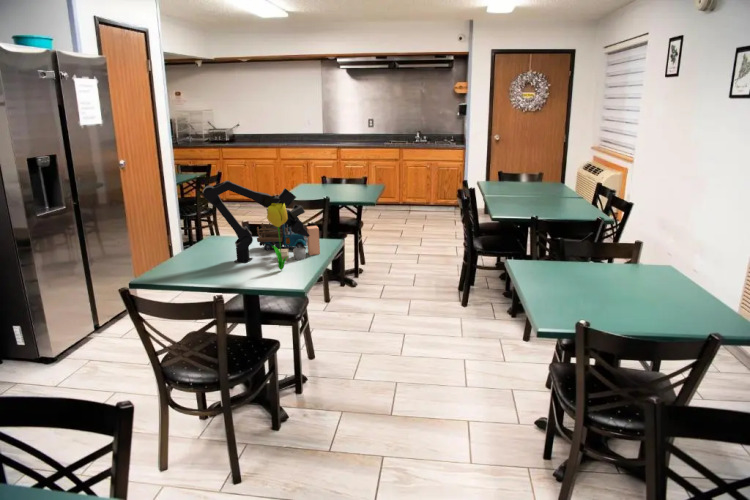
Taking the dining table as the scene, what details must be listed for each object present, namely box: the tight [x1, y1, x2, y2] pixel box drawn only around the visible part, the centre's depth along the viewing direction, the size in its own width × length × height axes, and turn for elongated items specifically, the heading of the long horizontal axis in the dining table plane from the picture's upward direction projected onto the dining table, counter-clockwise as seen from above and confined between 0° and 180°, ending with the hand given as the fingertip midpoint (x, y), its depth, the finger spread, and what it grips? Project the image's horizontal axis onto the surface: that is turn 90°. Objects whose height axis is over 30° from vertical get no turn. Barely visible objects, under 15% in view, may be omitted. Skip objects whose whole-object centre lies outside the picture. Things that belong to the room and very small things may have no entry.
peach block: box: [306, 225, 321, 256], centre depth 257 cm, size 5×5×13 cm
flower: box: [266, 202, 288, 272], centre depth 229 cm, size 9×8×30 cm
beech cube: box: [278, 248, 290, 262], centre depth 249 cm, size 4×4×4 cm
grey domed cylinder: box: [292, 247, 307, 261], centre depth 251 cm, size 6×6×4 cm
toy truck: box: [256, 222, 308, 251], centre depth 267 cm, size 11×25×15 cm, turn 87°
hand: (307, 233), depth 255 cm, fingers open, 9 cm apart
